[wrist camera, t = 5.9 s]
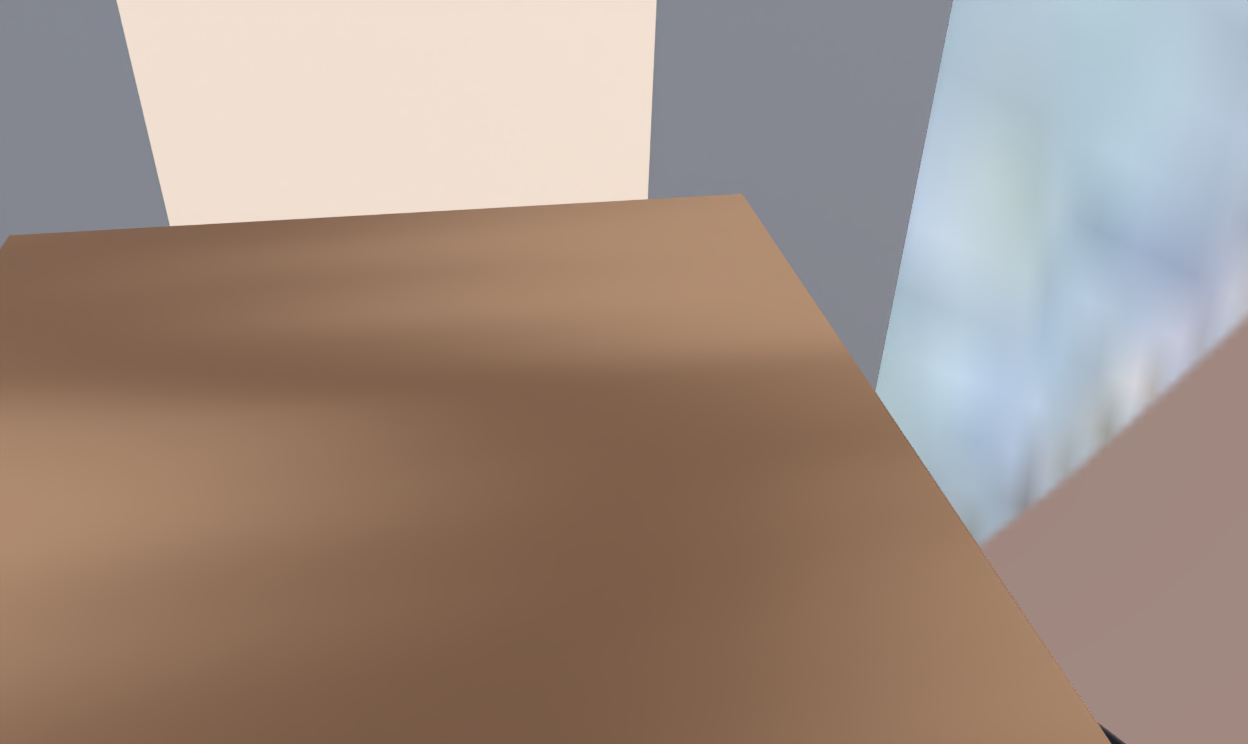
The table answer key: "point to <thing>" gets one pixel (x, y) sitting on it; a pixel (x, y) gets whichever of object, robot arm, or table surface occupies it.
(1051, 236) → the table surface
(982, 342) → the table surface
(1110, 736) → the robot arm
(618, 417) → the walnut block
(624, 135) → the gray flat panel
